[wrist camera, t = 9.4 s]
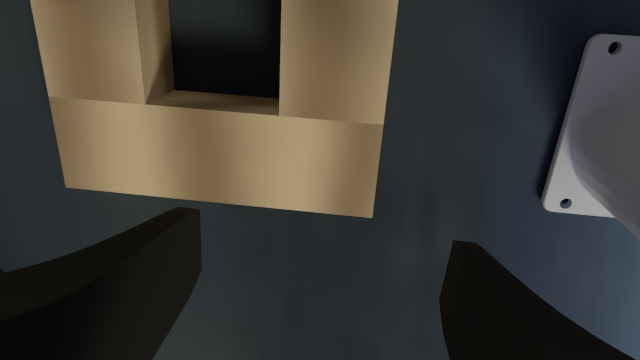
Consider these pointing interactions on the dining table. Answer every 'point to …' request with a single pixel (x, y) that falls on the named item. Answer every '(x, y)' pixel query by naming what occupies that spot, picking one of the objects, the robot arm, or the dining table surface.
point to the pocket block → (220, 107)
